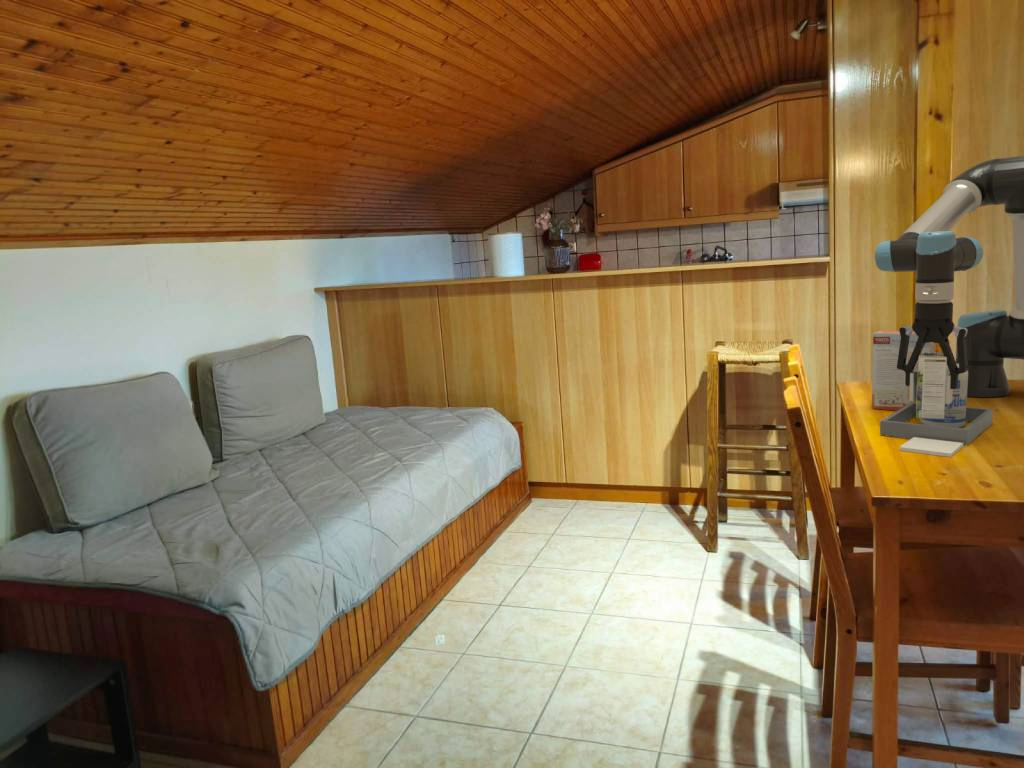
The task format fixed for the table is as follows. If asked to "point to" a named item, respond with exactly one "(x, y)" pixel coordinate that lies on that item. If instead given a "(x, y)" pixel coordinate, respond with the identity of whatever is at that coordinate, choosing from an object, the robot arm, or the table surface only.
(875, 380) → the cracker box
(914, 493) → the table surface
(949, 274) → the robot arm
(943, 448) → the board
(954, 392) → the supplement tub
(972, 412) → the bin
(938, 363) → the syrup box
